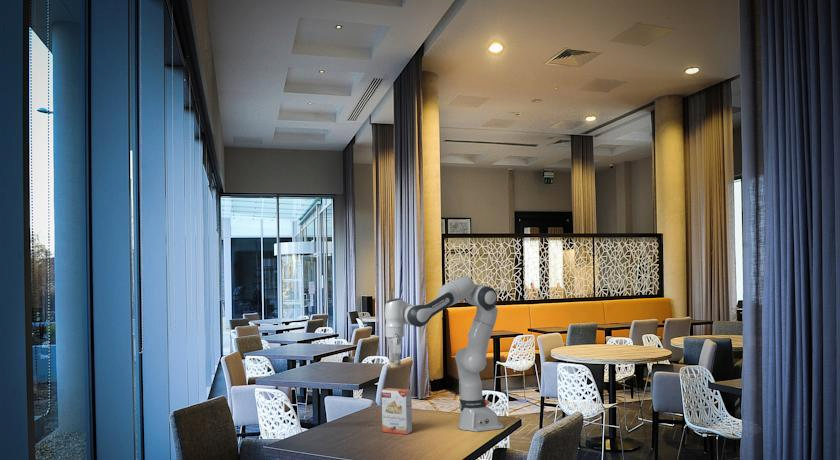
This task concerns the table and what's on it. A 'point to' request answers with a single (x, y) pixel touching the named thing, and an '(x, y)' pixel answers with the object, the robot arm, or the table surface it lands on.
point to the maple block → (394, 363)
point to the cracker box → (396, 411)
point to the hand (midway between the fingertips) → (395, 362)
